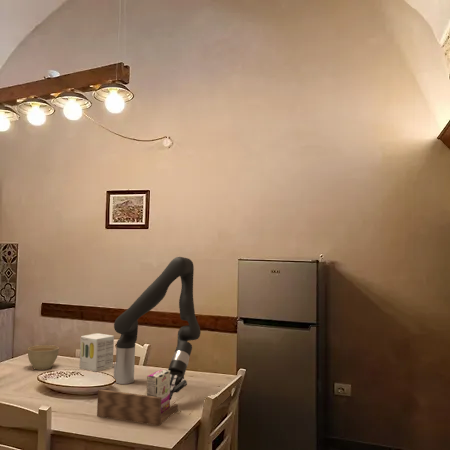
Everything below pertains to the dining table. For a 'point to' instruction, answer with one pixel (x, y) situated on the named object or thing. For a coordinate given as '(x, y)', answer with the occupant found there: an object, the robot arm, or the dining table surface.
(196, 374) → the dining table surface
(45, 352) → the planter bowl
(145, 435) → the dining table surface
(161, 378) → the candy bar box
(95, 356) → the supplement box
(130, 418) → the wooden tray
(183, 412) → the dining table surface
